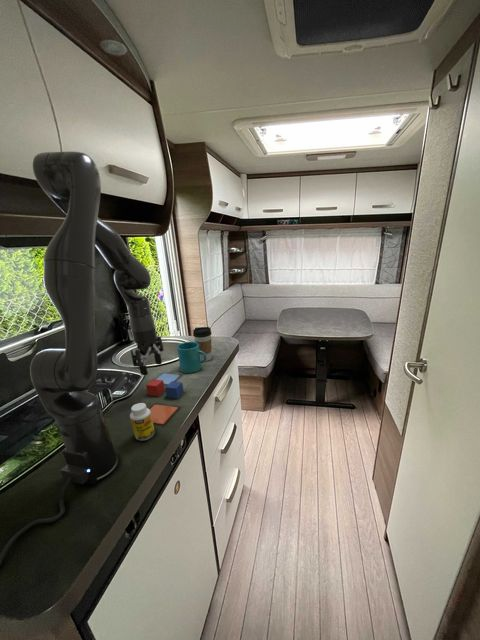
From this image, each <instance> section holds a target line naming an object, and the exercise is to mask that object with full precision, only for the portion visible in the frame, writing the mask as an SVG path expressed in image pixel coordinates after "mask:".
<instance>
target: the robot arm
mask: <svg viewBox="0 0 480 640" xmlns="http://www.w3.org/2000/svg"><path fill="white" fill-rule="evenodd" d="M32 172H33V175H34V177H35V179H36V182H37V183H38V185H39V186H40V188H41V189H42V190H43V192H44V193H45V194H46V195H47V197H48V198H49V199H50V200H51V201H52V202H53V203H54V204H55V205H56V206H57V207H58V208H59V209H60V210H61V211H62V212H63V213H64V215H66V216H65V218H64V220H63V222H62V224H61V226H60V227H59V228H58V230H57V231H56V233H55V234H54V235H53V237H52V238H51V240H50V241H49V243H48V245H47V247H46V249H45V251H44V256H43V286H44V290H45V293H46V294H47V296H48V298H49V300H50V301H51V303H52V305H53V306H54V308H55V309H56V311H57V313H58V315H59V317H60V318H61V321H62V323H63V327H64V335H65V348H47V349H42V350H41V351H39V352H37V353H36V354H35V355H34V356H33V358H32V359H31V362H30V365H29V375H30V380H31V382H32V385H33V388H34V390H35V392H36V394H37V396H38V398H39V400H40V402H41V404H42V406H43V408H44V410H45V412H46V413H47V414H49V416H51V417H52V418H53V420H54V423H55V425H56V427H57V430H58V432H59V435H60V438H61V440H62V442H63V445H64V449H62V450H61V451H62V455H63V457H64V460H65V462H66V465H65V466H63V467H62V468H61V469H60V473H61V476H62V477H63V480H64V481H66V482H65V483H64V484H63V486H62V488H61V490H60V493H59V502H58V506H59V510H60V511H59V513H58V514H57V515H55V516H53V517H48V518H47V517H45V518H37V519H35V520H33V521H31V522H29V523H28V524H26V525H25V526H24V527H22V528H21V529H20V530H18V531H17V532H16V533H15V534H14V535H13V536H12V537H11V538H10V539H9V540H8V541H7V543H6V544H5V545H4V546H3V549H2V550H1V552H0V567H1V566H2V563H3V561H4V559H5V557H6V555H7V553H8V551H9V550H10V548H11V547H12V545H13V544H14V543H15V542H16V541H17V539H19V537H20V536H22V535H23V534H25V532H26V531H28V530H30V529H31V528H32V527H34V526H36V525H40V524H50V523H53V522H56V521H58V520H59V519H61V517H63V516H64V514H65V512H66V507H65V494H66V492H67V490H68V488H69V486H70V484H71V483H75V484H80V485H84V484H88V485H92V486H94V485H96V484H97V482H99V481H101V480H104V479H105V478H107V477H109V476H110V475H111V474H112V473H113V472H114V471H115V470H116V469H117V467H118V464H119V459H118V456H117V454H116V450H115V448H114V444H113V440H112V437H111V435H110V432H109V429H108V425H107V422H106V419H105V418H106V417H105V416H104V415H105V414H104V412H103V409H102V405H101V402H100V399H99V398H98V396H97V395H96V394H94V393H92V392H89V391H88V390H90V388H92V386H93V385H94V383H95V382H96V380H97V379H96V378H97V375H98V367H99V366H98V365H99V364H98V351H97V350H98V349H97V341H96V340H97V339H96V338H97V337H96V328H95V292H96V291H95V290H96V249H97V250H98V252H99V253H100V255H101V256H102V257H103V259H104V260H105V261H106V263H107V264H108V265H109V267H110V268H112V269H113V270H115V271H114V273H113V280H114V284H115V286H116V288H117V290H118V292H119V293H120V295H121V297H122V299H123V301H124V303H125V305H126V308H127V313H128V318H129V327H130V330H131V334H132V338H133V343H135V344H136V348H135V349H131V350H130V356H131V359H132V365H133V367H138V368H139V373H140V375H142V376H147V375H148V374H149V372H148V366H147V360H148V359H149V357H150V356H151V355H152V354H153V358H154V362H155V364H156V365H161V364H162V361H163V360H162V356H161V355H162V352H164V351H165V349H164V345H163V341H162V337H161V336H157V335H158V334H157V330H156V326H155V321H154V316H153V314H152V309H151V305H150V301H149V300H150V299H149V298H148V297H147V296H145V295H141V294H138V293H137V292H135V291H136V290H145V289H148V288H149V287H150V286H151V282H152V278H151V274H150V272H149V270H148V269H147V267H145V265H144V264H143V263H141V262H140V260H138V258H136V257H135V256H134V255H133V254H132V253H131V251H130V249H129V247H128V245H127V244H126V243H125V240H124V239H123V238H122V236H121V235H120V234H119V232H117V231H116V230H115V229H114V228H112V226H110V225H109V224H107V223H106V222H105V221H104V220H103V219H101V218H100V217H99V212H100V211H99V210H100V204H101V195H102V194H101V193H102V185H101V184H102V183H101V176H100V172H99V169H98V166H97V164H96V162H95V161H94V160H93V158H92V157H91V156H90V155H88V154H86V153H84V152H80V151H47V152H40V153H37V154H36V155H34V157H33V160H32Z"/></svg>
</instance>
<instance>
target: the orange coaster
mask: <svg viewBox="0 0 480 640" xmlns="http://www.w3.org/2000/svg"><path fill="white" fill-rule="evenodd" d="M178 409H179V407H177V406H170V405H164V404H163V405H162V404H154V405H153V406H152V407H151V408H149V410H150V412H151V416H152V421H153V424H157V425H165V424H166V422H167V421H168V420H170V418H171V417H172V416H173V415H174V414H175V412H177V410H178Z"/></svg>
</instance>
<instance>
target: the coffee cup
mask: <svg viewBox="0 0 480 640" xmlns="http://www.w3.org/2000/svg"><path fill="white" fill-rule="evenodd" d="M192 336H193V338H194V342H196V343H198V344H199V350H201V351H203V352H204V353H205V354H206V357H207V358H206V361H205V362H208V361H210V360H212V329H211V327H210V326H202V327H197V328H196V327H195V328H194V329H193V330H192ZM200 359H201V361H202V360H204V355H203V354H201V353H200Z"/></svg>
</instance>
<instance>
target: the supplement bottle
mask: <svg viewBox="0 0 480 640" xmlns="http://www.w3.org/2000/svg"><path fill="white" fill-rule="evenodd" d="M130 411H131V412H130V414H129V419H130V423H131V426H132V430H133V435H134V438H135V439H136V440H137V441H141V442H142V441H147V440H149V439H152V438H153V436H154V435H155V433H156V431H155V430H156V429H155V426H154V423H153V421H152V416H151V412H150V408H148V407H147V404H146V403H144V402H138V403H135V404H133V405H131V408H130Z"/></svg>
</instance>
